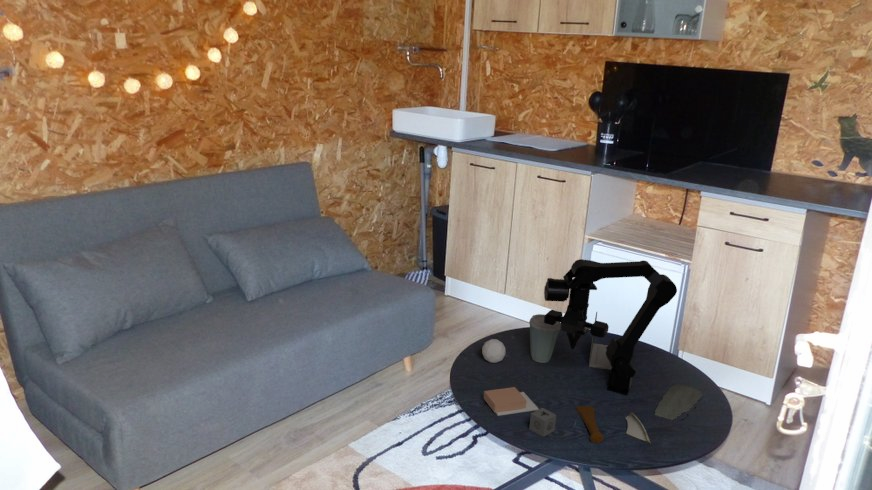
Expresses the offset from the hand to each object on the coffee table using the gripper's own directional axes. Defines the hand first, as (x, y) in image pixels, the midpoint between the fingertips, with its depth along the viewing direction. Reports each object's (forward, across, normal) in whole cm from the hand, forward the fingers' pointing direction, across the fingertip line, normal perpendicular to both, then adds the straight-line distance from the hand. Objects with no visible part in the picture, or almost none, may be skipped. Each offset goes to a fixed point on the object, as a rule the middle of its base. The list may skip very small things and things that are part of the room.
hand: (572, 348), depth 215 cm
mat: (+13, -11, -20) cm, 26 cm away
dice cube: (+13, +2, -28) cm, 31 cm away
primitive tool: (+14, +12, -17) cm, 25 cm away
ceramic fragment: (+14, +25, -13) cm, 31 cm away
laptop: (+14, +5, +27) cm, 31 cm away
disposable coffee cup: (+13, -14, +13) cm, 23 cm away
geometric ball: (+13, -27, +2) cm, 30 cm away
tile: (+11, -9, -18) cm, 23 cm away
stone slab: (+14, +32, +9) cm, 36 cm away
